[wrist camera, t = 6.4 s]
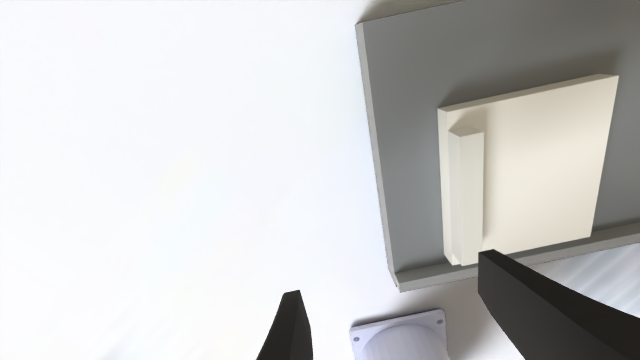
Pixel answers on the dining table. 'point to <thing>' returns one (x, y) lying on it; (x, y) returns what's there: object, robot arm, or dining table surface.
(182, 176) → the dining table surface
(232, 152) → the dining table surface
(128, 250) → the dining table surface
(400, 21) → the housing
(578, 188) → the cover
